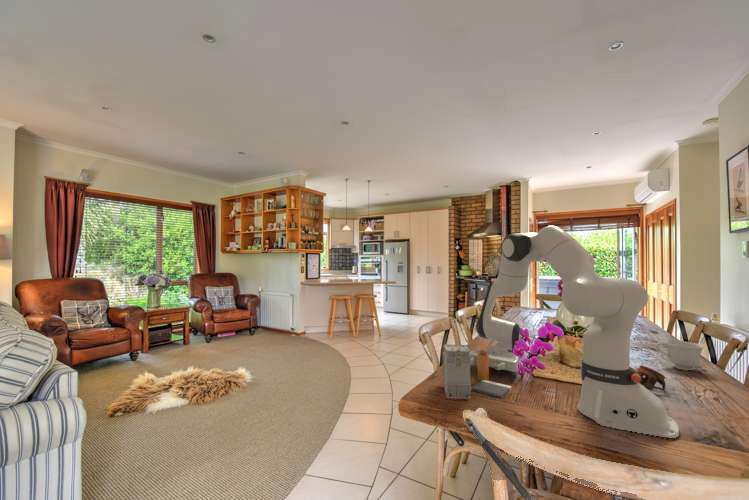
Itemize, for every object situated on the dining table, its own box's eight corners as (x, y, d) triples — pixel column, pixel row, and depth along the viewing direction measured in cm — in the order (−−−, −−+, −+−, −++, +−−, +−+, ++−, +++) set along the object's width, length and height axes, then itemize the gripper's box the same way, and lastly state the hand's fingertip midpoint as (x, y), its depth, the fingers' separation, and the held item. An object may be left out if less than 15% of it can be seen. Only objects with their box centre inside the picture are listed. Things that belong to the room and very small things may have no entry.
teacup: (651, 361, 145) (651, 338, 145) (697, 366, 138) (696, 342, 138) (661, 369, 134) (660, 344, 134) (710, 375, 127) (710, 349, 127)
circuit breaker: (463, 382, 120) (463, 340, 120) (470, 398, 105) (470, 351, 106) (442, 381, 120) (442, 340, 121) (446, 397, 106) (446, 350, 107)
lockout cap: (490, 378, 123) (490, 351, 124) (486, 381, 120) (486, 353, 121) (480, 376, 126) (479, 349, 126) (476, 379, 123) (475, 351, 123)
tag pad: (511, 388, 114) (511, 386, 114) (501, 397, 106) (501, 395, 106) (482, 381, 120) (482, 379, 120) (471, 390, 112) (471, 387, 112)
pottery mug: (622, 382, 121) (633, 362, 122) (652, 398, 117) (663, 378, 117) (634, 385, 110) (645, 363, 111) (667, 403, 106) (679, 380, 107)
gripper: (472, 344, 141) (457, 351, 130) (523, 353, 128) (511, 361, 117) (472, 359, 141) (458, 367, 130) (523, 369, 128) (512, 379, 117)
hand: (484, 365), depth 124 cm, fingers open, 8 cm apart
